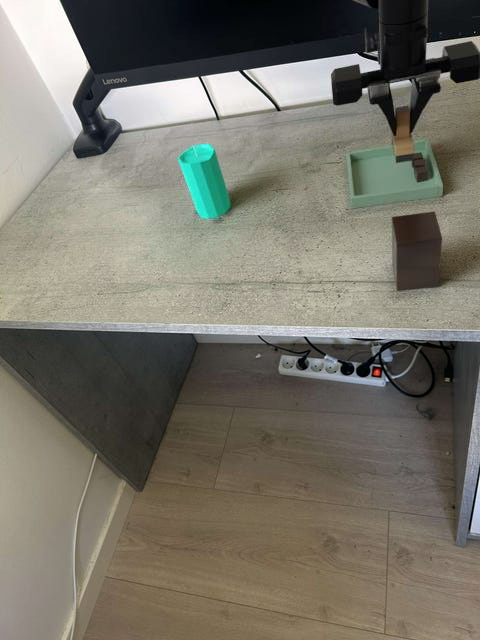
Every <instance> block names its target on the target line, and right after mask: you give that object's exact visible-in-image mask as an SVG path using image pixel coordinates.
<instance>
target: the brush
mask: <svg viewBox="0 0 480 640" xmlns="http://www.w3.org/2000/svg"><path fill="white" fill-rule="evenodd" d="M409 109H410V105H403V106H398V107H394V112H395V119H396V126H397V132H396V136H393V133H392V131H391V130H390V138H391V145H392V146H393V151H394V155H395V160H396V163H400V162H407V161H413V153H414V142H413V141H414V139H413V135H412V133H410V128H409V127H410V110H409Z"/></svg>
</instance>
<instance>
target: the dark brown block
mask: <svg viewBox="0 0 480 640" xmlns="http://www.w3.org/2000/svg"><path fill="white" fill-rule="evenodd" d="M442 246H443V236H442V231H441V228H440V225H439V222H438V219H437V213H436V211H428V212H427V211H426V212H420V213H411V214H404V215H397V216H396V215H395V216H391V253H392V254H391V255H392V256H391V265H392V266H391V267H392V273H393V277H394V283H395V289H396V291H397V292H399V291H400V292H401V291H409V290H410V291H411V290H419V289H420V290H421V289H431V288H438V287H439V283H440V269H441V257H442V248H443V247H442Z"/></svg>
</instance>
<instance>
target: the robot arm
mask: <svg viewBox="0 0 480 640" xmlns="http://www.w3.org/2000/svg"><path fill="white" fill-rule="evenodd" d="M353 2H355V3H359V4H361V5H364V6H366V7H368V8H372V9H374V10H375V9H376V10H377V9H378V24H376V25H372V26H368V27H364V44H365V45H364V46H365V53H366V54H371V53H376V52H377V63H378V65H379V69H375V70H370V71H365V72H361V67H360V63H357V64H351V65H346V66H342V67H338V68H333V71H331V74H330V82H331V95H332V105H334V106H337V107H338V106H343V105H349V104H354V103H358V102H359V100H360V99H361V98H362V97H363V89H367V94H368V95H367V96H368V101H369V104H370V105H373V106H374V105H377V106H378V107H379V109H380V110H381V112H382V113H383V115H384V117H385V119H386V121H387V123H388V126H389V128H390V132H391V131H392V133H393V136H396V132H397V126H396V119H395V106H394V99H393V94H392V91H391V84H394V83H399V82H405V81H411V92H410V93H411V94H410V102H409V110H410V127H409V128H410V133H411V134H412V133H414V130H415V128H416V125H417V123H418V121H419V119H420V117H421V115H422V113H423V111H424V110H425V107H426V106H427V105H428V103H429V102H430V100H431V99H432V97H433V96H434V95H435V94H438V93H440V92H441V91H442V86H441V84H440V80H439V79H441V75H442V74H446V73H449V79H450V80H451V81H452V82H454V83H455V84H463V83H466V82H467V83H468V82H473V81H478V80H480V50H479V48H478V46H477V45H476V43H474V42H473V41H472V40H470V41H469V40H468V41H464V42H460V43H454V44H450V45H445V46H443V47H442V48H443V49H442V53H441V56H440V57H431V58H427V45H428V43H427V42H428V20H429V19H428V16H429V15H428V14H429V0H353Z"/></svg>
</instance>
